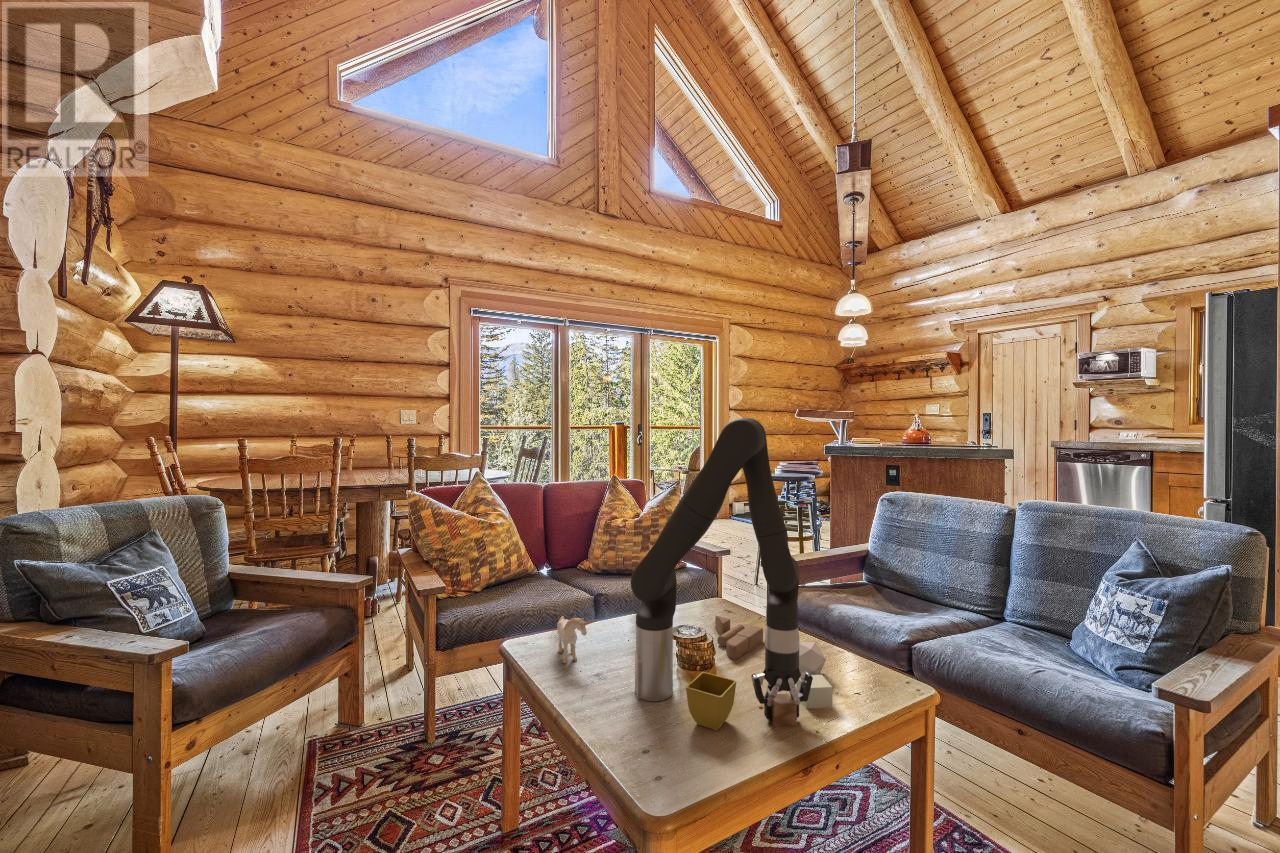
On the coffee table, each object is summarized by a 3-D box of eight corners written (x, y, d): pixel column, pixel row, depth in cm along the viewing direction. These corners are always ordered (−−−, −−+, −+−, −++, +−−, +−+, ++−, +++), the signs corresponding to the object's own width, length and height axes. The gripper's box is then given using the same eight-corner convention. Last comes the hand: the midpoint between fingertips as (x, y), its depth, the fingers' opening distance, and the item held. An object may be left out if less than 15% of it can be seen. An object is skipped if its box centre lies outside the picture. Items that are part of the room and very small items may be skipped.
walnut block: (774, 728, 125) (774, 705, 125) (767, 716, 130) (767, 694, 130) (796, 726, 126) (796, 704, 126) (788, 714, 131) (788, 693, 131)
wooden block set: (765, 623, 173) (736, 642, 159) (764, 642, 174) (736, 662, 160) (717, 611, 184) (686, 628, 170) (716, 628, 184) (686, 646, 170)
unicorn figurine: (576, 675, 151) (576, 625, 151) (543, 650, 167) (543, 605, 166) (599, 667, 155) (599, 619, 155) (565, 644, 171) (564, 600, 171)
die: (819, 687, 145) (835, 651, 148) (788, 668, 147) (804, 632, 150) (809, 684, 153) (825, 650, 156) (779, 665, 155) (796, 632, 158)
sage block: (806, 708, 134) (806, 688, 134) (796, 695, 140) (796, 675, 140) (832, 707, 134) (832, 687, 134) (821, 694, 141) (821, 674, 140)
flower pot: (721, 738, 121) (721, 696, 121) (684, 726, 126) (685, 686, 126) (737, 719, 129) (737, 680, 129) (702, 708, 133) (702, 671, 133)
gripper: (756, 653, 123) (756, 730, 124) (819, 650, 125) (819, 726, 125) (746, 639, 131) (746, 712, 131) (806, 637, 132) (805, 709, 133)
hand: (781, 719), depth 128 cm, fingers closed on walnut block, 5 cm apart
